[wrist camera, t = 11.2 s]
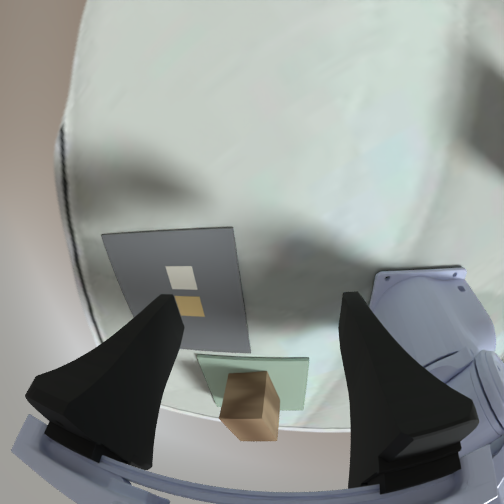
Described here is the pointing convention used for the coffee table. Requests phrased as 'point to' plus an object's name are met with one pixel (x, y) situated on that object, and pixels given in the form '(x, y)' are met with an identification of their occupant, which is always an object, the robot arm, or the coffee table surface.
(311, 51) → the coffee table surface
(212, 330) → the grey flat rectangular plate
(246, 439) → the walnut block
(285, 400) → the mat
